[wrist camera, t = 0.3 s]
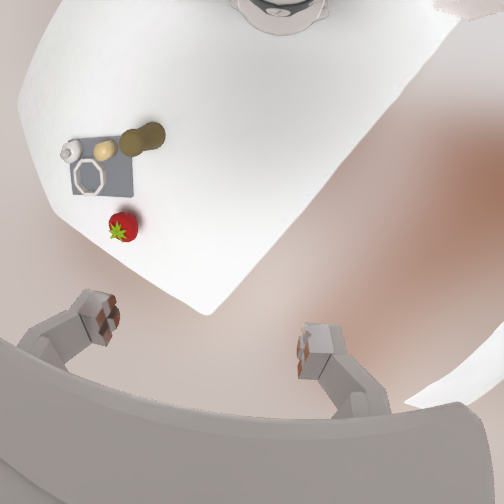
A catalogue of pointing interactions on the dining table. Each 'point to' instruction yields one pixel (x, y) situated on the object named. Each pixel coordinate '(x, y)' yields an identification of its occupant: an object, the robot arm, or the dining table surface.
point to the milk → (469, 7)
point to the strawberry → (123, 227)
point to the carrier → (98, 167)
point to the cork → (142, 139)
